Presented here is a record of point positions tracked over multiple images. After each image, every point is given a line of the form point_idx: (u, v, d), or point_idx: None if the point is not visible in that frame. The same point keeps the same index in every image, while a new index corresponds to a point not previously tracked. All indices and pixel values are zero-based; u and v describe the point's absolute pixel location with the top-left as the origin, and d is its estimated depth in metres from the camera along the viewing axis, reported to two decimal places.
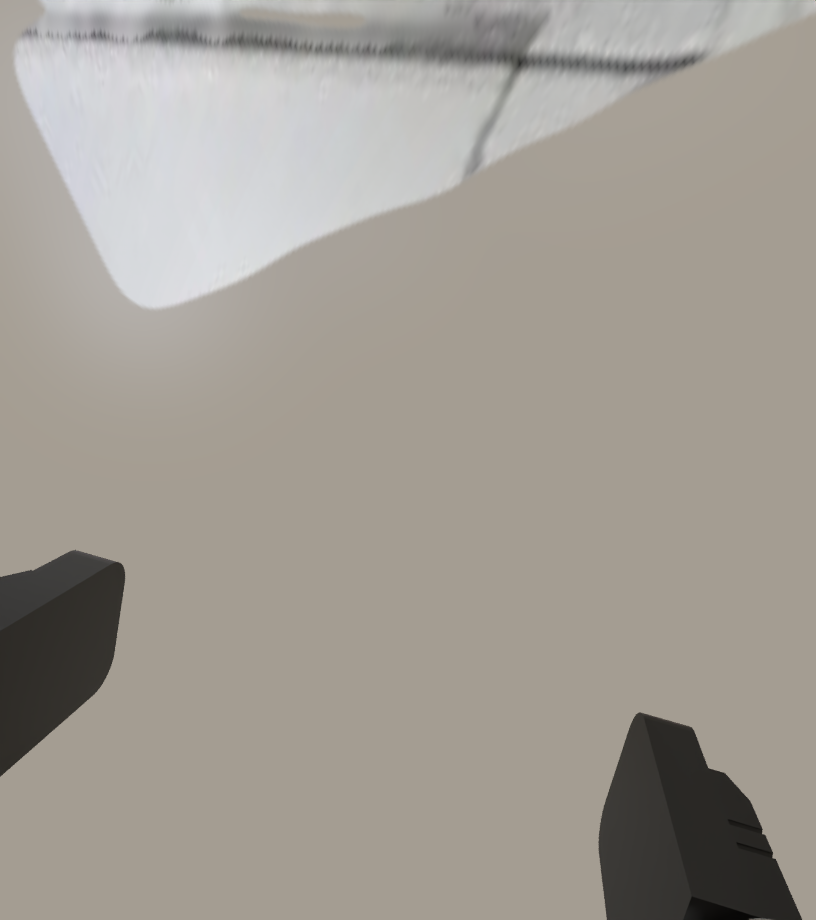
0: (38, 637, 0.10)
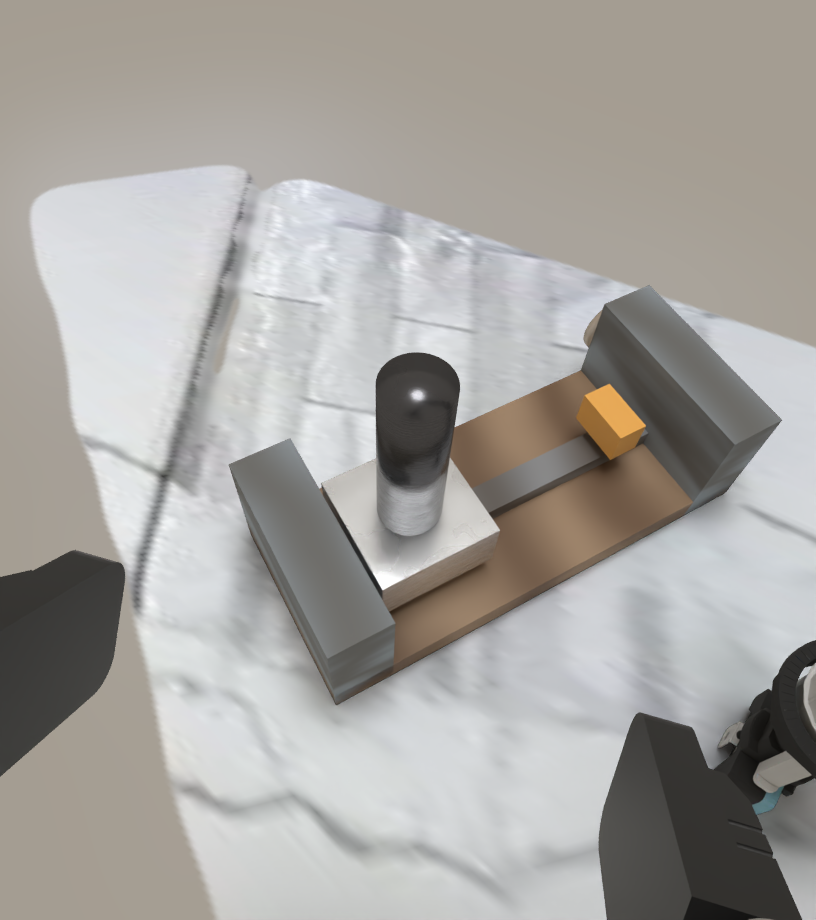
0: (38, 637, 0.10)
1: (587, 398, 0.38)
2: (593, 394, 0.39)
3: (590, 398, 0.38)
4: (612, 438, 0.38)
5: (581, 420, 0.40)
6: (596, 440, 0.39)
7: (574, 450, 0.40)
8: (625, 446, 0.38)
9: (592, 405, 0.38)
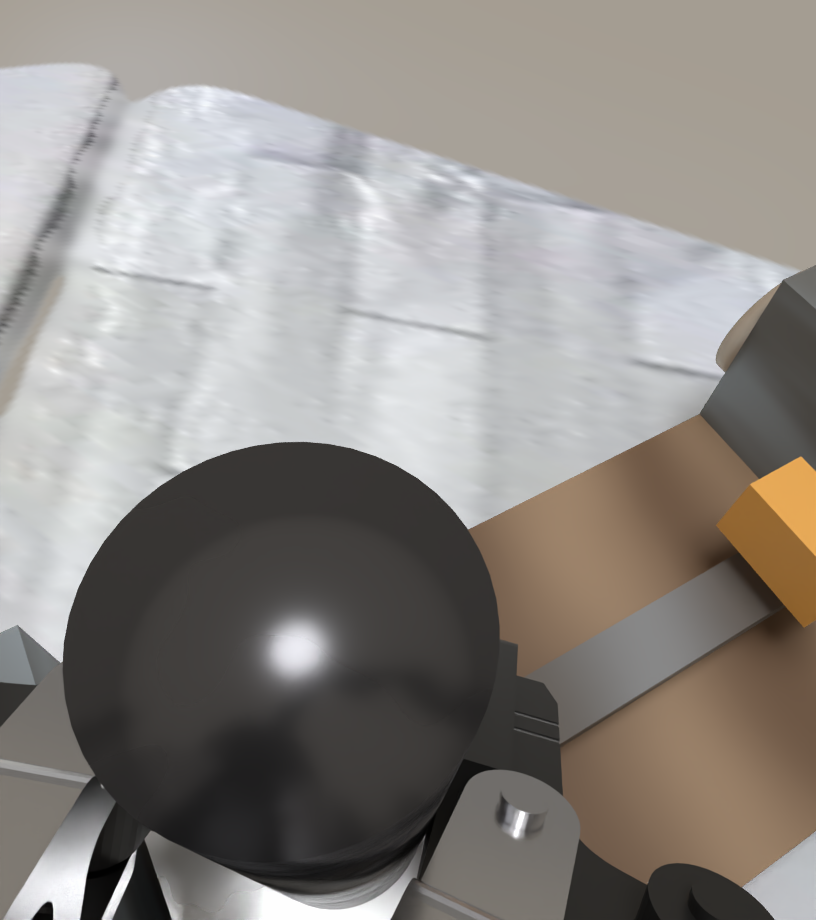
0: None
1: (757, 492, 0.17)
2: (769, 482, 0.17)
3: (764, 492, 0.17)
4: None
5: (731, 533, 0.18)
6: (768, 580, 0.18)
7: (713, 596, 0.19)
8: None
9: (771, 509, 0.17)
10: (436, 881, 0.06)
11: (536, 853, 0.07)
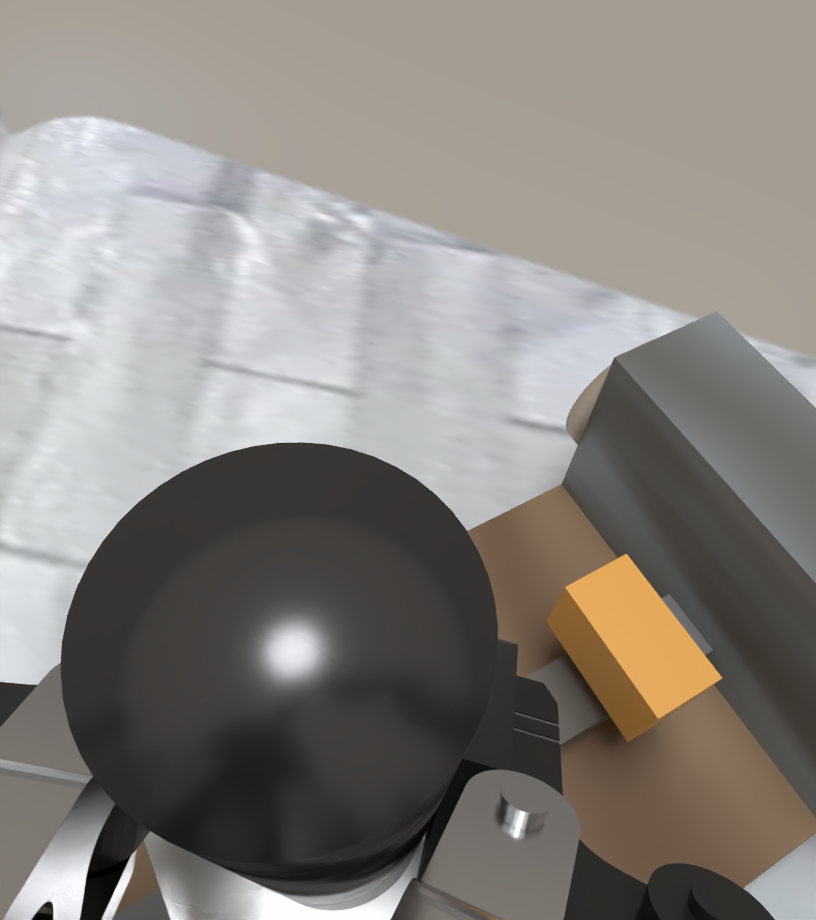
0: None
1: (572, 596, 0.15)
2: (587, 584, 0.16)
3: (579, 596, 0.15)
4: (634, 706, 0.15)
5: (558, 632, 0.17)
6: (594, 687, 0.16)
7: None
8: (667, 715, 0.15)
9: (585, 616, 0.15)
10: (436, 881, 0.06)
11: (536, 853, 0.07)
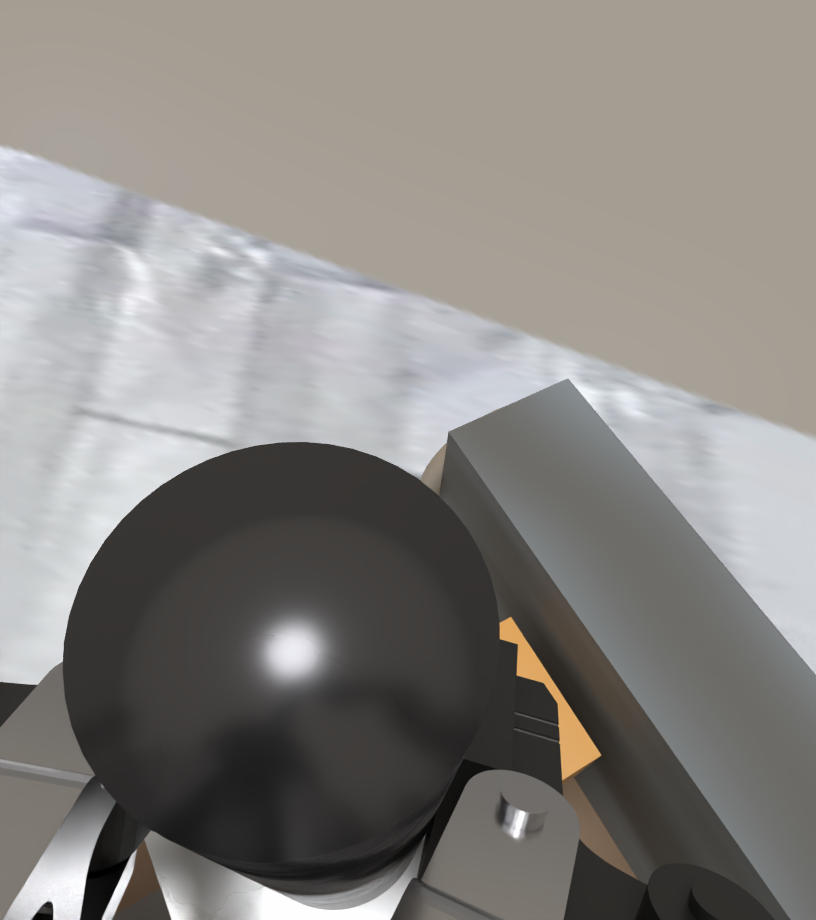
0: None
1: None
2: None
3: None
4: None
5: None
6: None
7: None
8: None
9: None
10: (436, 881, 0.06)
11: (536, 853, 0.07)
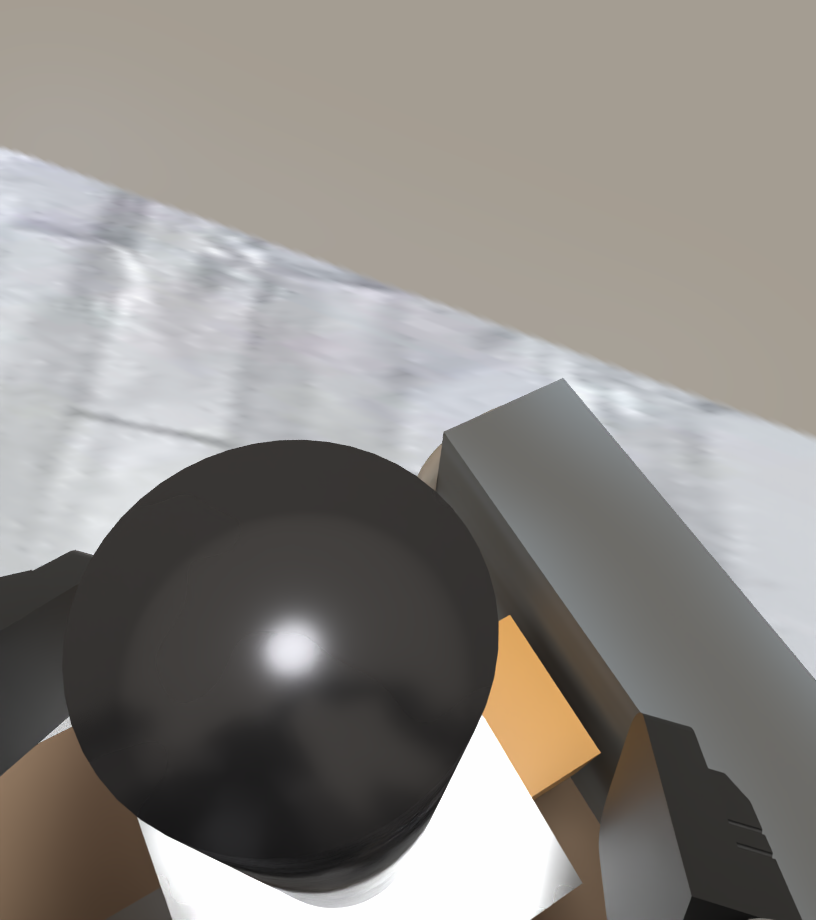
0: (37, 637, 0.10)
1: None
2: None
3: None
4: None
5: None
6: None
7: None
8: (550, 788, 0.15)
9: None
10: None
11: None
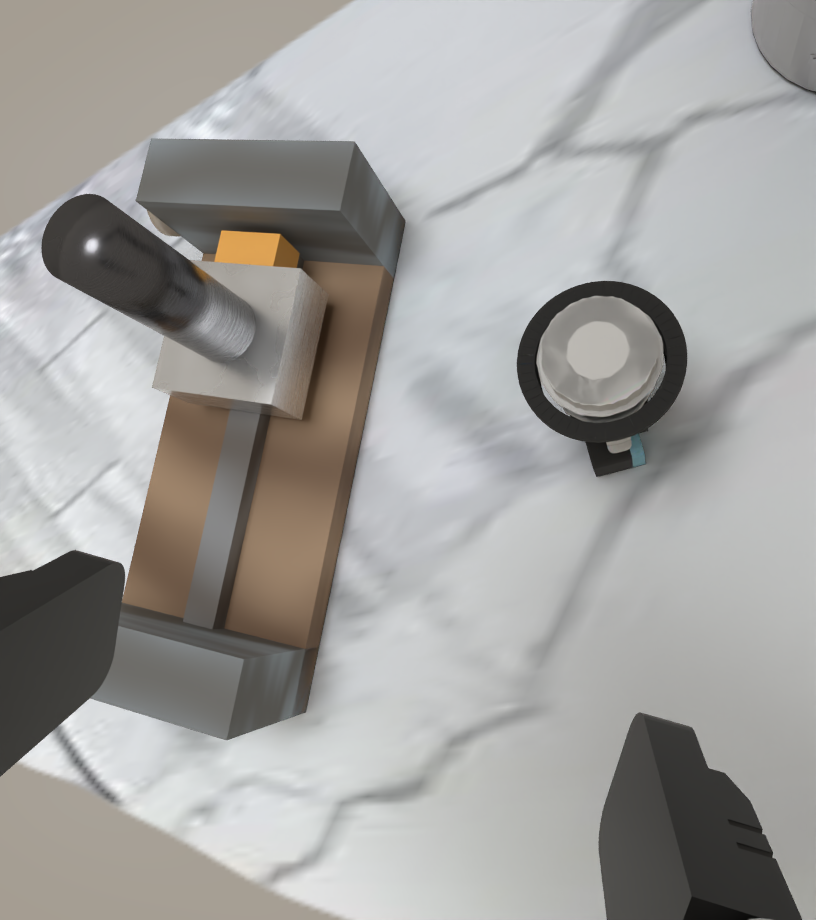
0: (37, 637, 0.10)
1: None
2: (219, 255, 0.34)
3: (220, 261, 0.34)
4: None
5: None
6: None
7: None
8: (289, 263, 0.34)
9: None
10: None
11: None
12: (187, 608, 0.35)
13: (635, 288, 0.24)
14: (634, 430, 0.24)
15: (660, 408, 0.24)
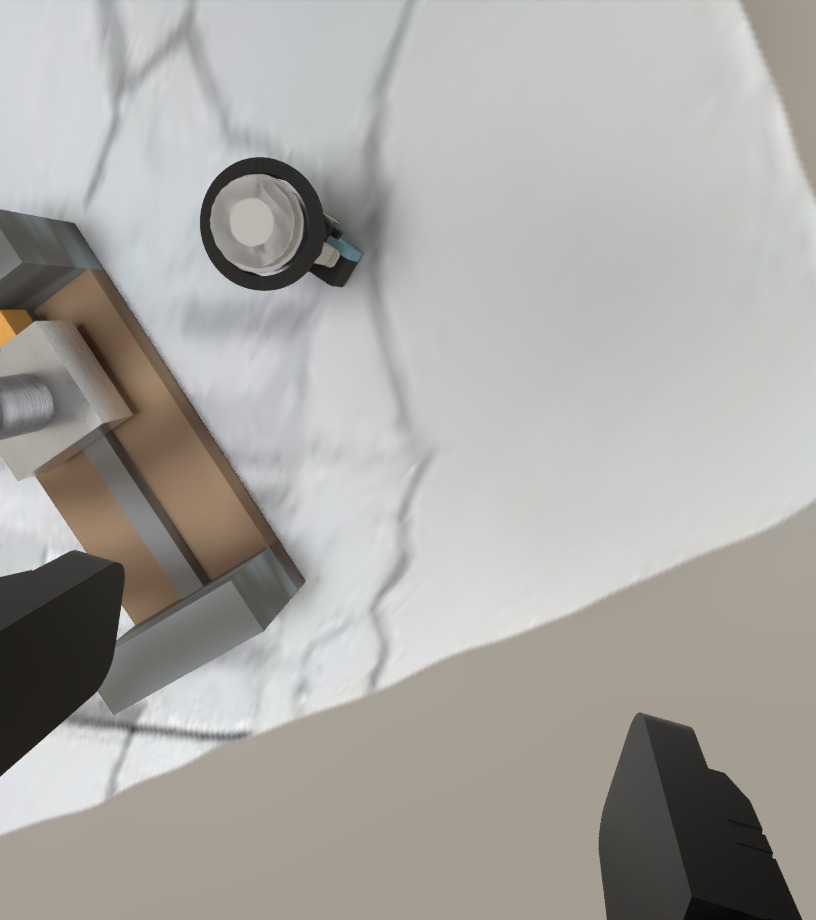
0: (37, 637, 0.10)
1: None
2: None
3: None
4: None
5: None
6: None
7: None
8: (25, 323, 0.39)
9: None
10: None
11: None
12: (177, 589, 0.43)
13: (242, 162, 0.31)
14: (315, 250, 0.31)
15: (318, 224, 0.31)
